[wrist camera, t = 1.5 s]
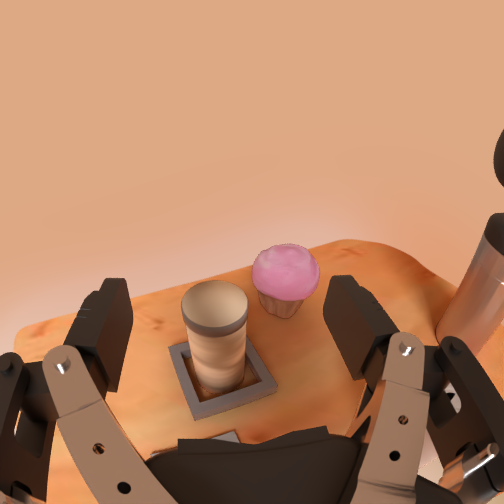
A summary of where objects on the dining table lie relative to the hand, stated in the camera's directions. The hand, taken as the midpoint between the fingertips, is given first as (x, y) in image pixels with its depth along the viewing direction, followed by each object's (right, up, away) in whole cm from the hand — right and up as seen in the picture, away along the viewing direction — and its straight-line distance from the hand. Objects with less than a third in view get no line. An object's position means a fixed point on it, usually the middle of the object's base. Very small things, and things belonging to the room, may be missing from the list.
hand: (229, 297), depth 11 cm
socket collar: (-3, -12, +20) cm, 23 cm away
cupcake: (+5, -7, +30) cm, 31 cm away
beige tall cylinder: (-3, -12, +20) cm, 23 cm away
